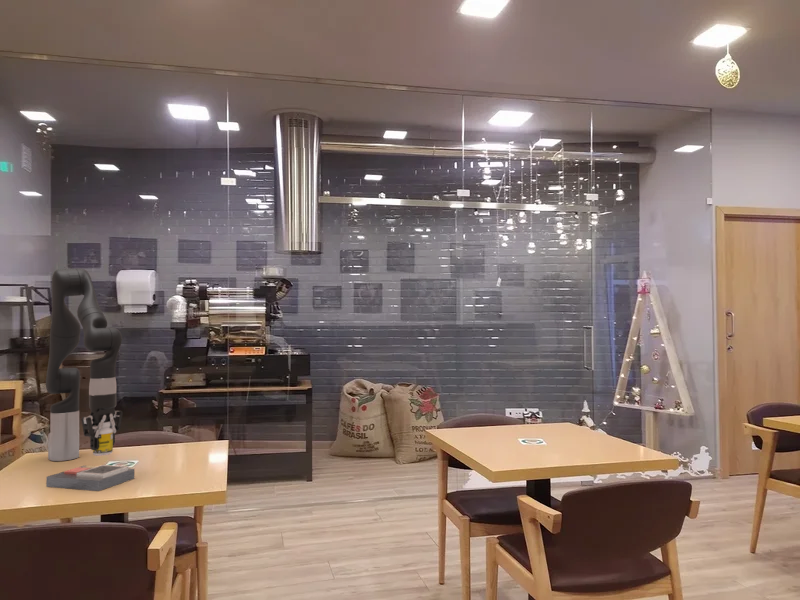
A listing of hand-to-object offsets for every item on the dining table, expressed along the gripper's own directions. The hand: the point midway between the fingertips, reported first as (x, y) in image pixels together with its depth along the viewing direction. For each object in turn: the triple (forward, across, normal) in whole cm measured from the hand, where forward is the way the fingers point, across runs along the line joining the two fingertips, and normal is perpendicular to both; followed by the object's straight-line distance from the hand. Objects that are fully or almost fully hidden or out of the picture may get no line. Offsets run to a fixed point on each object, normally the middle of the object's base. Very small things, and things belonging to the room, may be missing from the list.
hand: (102, 447), depth 175 cm
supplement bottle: (+2, 0, 0) cm, 2 cm away
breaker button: (+11, 0, -10) cm, 15 cm away
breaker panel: (+11, 0, -4) cm, 12 cm away
